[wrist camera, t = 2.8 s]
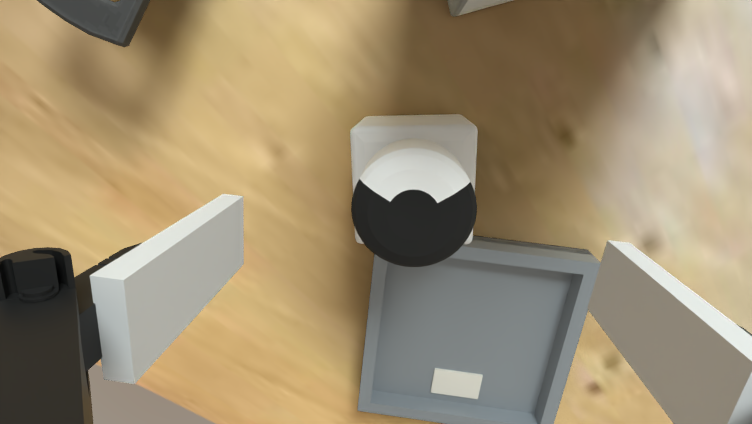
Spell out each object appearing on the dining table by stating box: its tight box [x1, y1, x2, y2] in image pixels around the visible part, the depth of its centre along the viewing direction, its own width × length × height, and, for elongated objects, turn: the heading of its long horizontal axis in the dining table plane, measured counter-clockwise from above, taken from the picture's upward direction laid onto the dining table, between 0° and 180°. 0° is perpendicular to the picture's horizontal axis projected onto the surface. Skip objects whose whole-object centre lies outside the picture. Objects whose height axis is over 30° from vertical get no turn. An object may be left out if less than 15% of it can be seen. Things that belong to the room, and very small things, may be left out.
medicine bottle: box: [350, 114, 478, 267], centre depth 25 cm, size 7×7×12 cm
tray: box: [358, 236, 601, 424], centre depth 33 cm, size 16×16×2 cm
